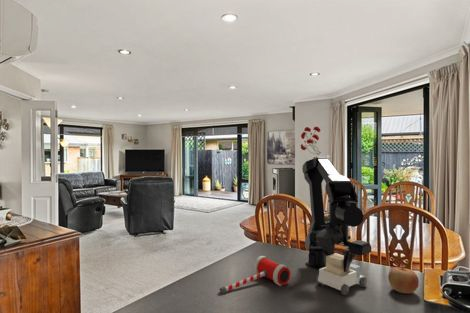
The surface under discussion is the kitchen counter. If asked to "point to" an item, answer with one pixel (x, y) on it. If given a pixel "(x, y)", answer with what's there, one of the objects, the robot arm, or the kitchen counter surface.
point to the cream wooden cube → (336, 264)
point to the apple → (403, 280)
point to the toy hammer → (264, 273)
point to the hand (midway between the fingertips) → (337, 269)
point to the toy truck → (341, 279)
